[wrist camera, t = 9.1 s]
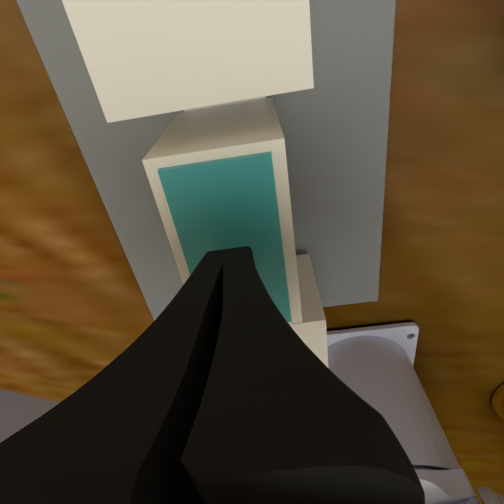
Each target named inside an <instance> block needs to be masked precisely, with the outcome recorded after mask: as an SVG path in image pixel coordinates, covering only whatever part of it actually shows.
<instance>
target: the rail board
mask: <svg viewBox="0 0 504 504" xmlns="http://www.w3.org/2000/svg"><path fill="white" fill-rule="evenodd" d="M16 1H17V3H18V5H19V8H20V10H21V12H22V15H23V17H24V19H25V22H26V24H27V26H28V29H29V31H30V33H31V36H32V38H33V40H34V43H35V45H36V47H37V50H38V52H39V54H40V57H41V59H42V61H43V63H44V66H45V68H46V70H47V73H48V75H49V77H50V80H51V82H52V84H53V87H54V89H55V91H56V94H57V96H58V98H59V101H60V103H61V105H62V108H63V110H64V112H65V115H66V117H67V119H68V122H69V124H70V126H71V129H72V131H73V133H74V135H75V138H76V140H77V142H78V145H79V147H80V149H81V152H82V154H83V156H84V159H85V161H86V163H87V166H88V168H89V170H90V173H91V175H92V177H93V180H94V182H95V184H96V187H97V189H98V191H99V194H100V196H101V198H102V201H103V203H104V205H105V208H106V210H107V212H108V214H109V217H110V219H111V221H112V224H113V226H114V228H115V231H116V233H117V235H118V238H119V240H120V242H121V245H122V247H123V249H124V252H125V254H126V256H127V259H128V261H129V263H130V266H131V268H132V270H133V273H134V275H135V277H136V280H137V282H138V284H139V286H140V289H141V291H142V293H143V296H144V298H145V300H146V303H147V305H148V307H149V310H150V312H151V314H152V317H153V319H154V321H155V320H156V319H157V317H158V316H159V315H160V314H161V313H162V311H163V310H164V309H165V308H166V307H167V305H168V304H169V303H170V302H171V301H172V299H173V298H174V297H175V295H176V294H177V293H178V291H179V290H180V289H181V287H182V286H183V282H182V279H181V276H180V273H179V270H178V267H177V264H176V261H175V258H174V255H173V252H172V249H171V246H170V243H169V240H168V237H167V234H166V231H165V228H164V225H163V222H162V219H161V216H160V213H159V210H158V207H157V204H156V201H155V198H154V195H153V192H152V189H151V186H150V183H149V180H148V177H147V174H146V171H145V168H144V165H143V162H142V159H143V158H144V157H145V155H146V154H147V153H148V152H149V150H150V149H151V148H152V146H153V145H154V144H155V142H156V141H157V140H158V139H159V137H160V136H161V135H162V133H163V132H164V131H165V129H166V128H167V127H168V126H169V124H170V123H171V122H172V120H173V119H174V118H175V116H176V115H177V114H178V113H180V112H186V111H192V110H198V109H204V108H211V107H217V106H223V105H229V104H235V103H241V102H247V101H253V100H260V99H266V98H273V102H274V105H275V109H276V112H277V115H278V119H279V122H280V125H281V129H282V132H283V135H284V140H285V150H286V160H287V170H288V180H289V191H290V201H291V211H292V221H293V231H294V241H295V252H296V262H297V272H298V282H299V292H300V302H301V313H302V322H301V323H292V324H289V325H290V326H291V327H292V329H293V330H294V331H295V332H296V334H297V335H298V336H299V337H300V338H301V340H302V341H303V342H304V343H305V344H306V345H307V346H308V347H309V349H310V350H311V351H312V352H313V353H314V354H315V355H316V356H317V357H318V358H319V359H320V360H321V361H322V362H323V363H324V364H325V365H326V366H327V367H328V350H327V331H326V318H325V314H324V311H323V307H329V306H338V305H346V304H355V303H363V302H371V301H378V291H379V274H380V257H381V240H382V223H383V206H384V189H385V173H386V156H387V139H388V122H389V105H390V88H391V71H392V55H393V38H394V21H395V4H396V0H16Z"/></svg>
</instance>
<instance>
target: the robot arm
mask: <svg viewBox="0 0 504 504" xmlns="http://www.w3.org/2000/svg"><path fill="white" fill-rule="evenodd" d="M418 333H419V327H418V326H417V324H416V323H414V322H406V323H397V324H388V325H380V326H371V327H362V328H353V329H344V330H335V331H327V350H328V367H327V366H326V365H325V364H324V363H323V362H322V361H321V360H320V359H319V358H318V357H317V356H316V355H315V354H314V353H313V352H312V351H311V350H310V349H309V347H308V346H307V345H306V344H305V343H304V342H303V341H302V340H301V338H300V337H299V336H298V335H297V334H296V332H295V331H294V330H293V329H292V327H291V326H290V325H289V323H288V322H287V321H286V320H285V318H284V317H283V315H282V314H281V312H280V311H279V310H278V308H277V307H276V305H275V303H274V302H273V300H272V299H271V297H270V295H269V294H268V292H267V290H266V288H265V286H264V284H263V282H262V280H261V278H260V276H259V274H258V272H257V269H256V267H255V262H254V257H253V251H252V249H251V248H250V247H248V246H244V247H237V248H230V249H222V250H215V251H207V253H206V254H205V255H204V256H203V258H202V259H201V261H200V262H199V264H198V265H197V266H196V268H195V269H194V271H193V272H192V274H191V275H190V276H189V278H188V279H187V281H186V282H185V283H184V285H183V286H182V287H181V289H180V290H179V291H178V293H177V294H176V295H175V297H174V298H173V299H172V301H171V302H170V303H169V304H168V305H167V307H166V308H165V309H164V310H163V311H162V313H161V314H160V315H159V316H158V317H157V319H156V320H155V321H154V322H153V323H152V324H151V325H150V326H149V327H148V328H147V329H146V330H145V331H144V332H143V333H142V334H141V335H140V336H139V337H138V338H137V339H136V340H135V341H134V342H133V343H132V344H131V345H130V346H129V347H128V348H127V349H126V350H125V351H124V352H123V353H121V354H120V355H119V356H118V357H117V358H116V359H115V360H113V361H112V362H111V363H110V364H109V365H108V366H106V367H105V368H104V369H103V370H102V371H101V372H99V373H98V374H97V375H96V376H95V377H93V378H92V379H91V380H90V381H88V382H87V383H86V384H85V385H83V386H82V387H81V388H79V389H78V390H77V391H76V392H74V393H73V394H72V395H70V396H69V397H67V398H66V399H65V400H63V401H62V402H61V403H59V404H58V405H56V406H55V407H54V408H52V409H51V410H49V411H48V412H47V413H45V414H44V415H42V416H41V417H39V418H38V419H36V420H35V421H33V422H32V423H30V424H29V425H27V426H26V427H24V428H22V429H21V430H20V431H18V432H16V433H15V434H13V435H12V436H10V437H9V438H7V439H6V440H4V441H3V442H1V443H0V504H480V503H479V501H478V499H477V497H476V495H475V493H474V491H473V489H472V487H471V484H470V482H469V480H468V478H467V476H466V474H465V472H464V470H463V469H462V468H461V467H460V465H459V463H458V461H457V459H456V457H455V455H454V453H453V451H452V448H451V446H450V444H449V442H448V440H447V438H446V436H445V434H444V431H443V429H442V427H441V425H440V423H439V421H438V419H437V417H436V415H435V412H434V410H433V408H432V406H431V404H430V402H429V400H428V398H427V396H426V393H425V391H424V389H423V387H422V385H421V383H420V381H419V379H418V376H417V374H416V372H415V370H414V368H413V365H414V359H415V352H416V346H417V339H418ZM477 491H478V493H479V495H480V497H481V500H482V502H483V504H504V497H503V496H501V495H500V494H498V493H496V492H493V490H492V489H491V488H490V487H488V486H485V487H480V488H477Z"/></svg>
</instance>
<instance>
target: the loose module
mask: <svg viewBox="0 0 504 504" xmlns="http://www.w3.org/2000/svg"><path fill="white" fill-rule="evenodd" d="M142 162H143V165H144V168H145V171H146V174H147V177H148V180H149V183H150V186H151V189H152V192H153V195H154V198H155V201H156V204H157V207H158V210H159V213H160V216H161V219H162V222H163V225H164V228H165V231H166V234H167V237H168V240H169V243H170V246H171V249H172V252H173V255H174V258H175V261H176V264H177V267H178V270H179V273H180V276H181V279H182V282H183V285H184V283H185V282H186V281H187V279H188V278H189V276H190V275H191V274H192V272H193V271H194V269H195V268H196V266H197V265H198V264H199V262H200V261H201V259H202V258H203V256H204V255H205V254H206V253H207V251H215V250H222V249H230V248H237V247H244V246H248V247H250V248H251V249H252V251H253V257H254V262H255V267H256V269H257V272H258V274H259V276H260V278H261V280H262V282H263V284H264V286H265V288H266V290H267V292H268V294H269V295H270V297H271V299H272V300H273V302H274V303H275V305H276V307H277V308H278V310H279V311H280V312H281V314H282V315H283V317H284V318H285V320H286V321H287V322H288V323H289V324H292V323H301V322H302V313H301V302H300V292H299V282H298V272H297V262H296V252H295V241H294V231H293V221H292V211H291V201H290V191H289V180H288V170H287V160H286V150H285V140H284V135H283V132H282V129H281V125H280V122H279V119H278V115H277V112H276V109H275V105H274V102H273V98H266V99H260V100H253V101H247V102H241V103H235V104H229V105H223V106H217V107H211V108H204V109H198V110H192V111H186V112H180V113H178V114H177V115H176V116H175V118H174V119H173V120H172V122H171V123H170V124H169V126H168V127H167V128H166V129H165V131H164V132H163V133H162V135H161V136H160V137H159V139H158V140H157V141H156V142H155V144H154V145H153V146H152V148H151V149H150V150H149V152H148V153H147V154H146V155H145V157H144V158H143V159H142Z"/></svg>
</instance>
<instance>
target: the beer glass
mask: <svg viewBox="0 0 504 504" xmlns="http://www.w3.org/2000/svg"><path fill="white" fill-rule="evenodd" d="M491 405H492V407H493V409H494V411H495V412H496V413H497V414H498V416H499V417H500V418H501V419H502V420H503V421H504V383H503V384H502V385H501V386H499V387H498V388H497V389H496V391H495V392H494V394H493V395H492V398H491Z"/></svg>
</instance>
